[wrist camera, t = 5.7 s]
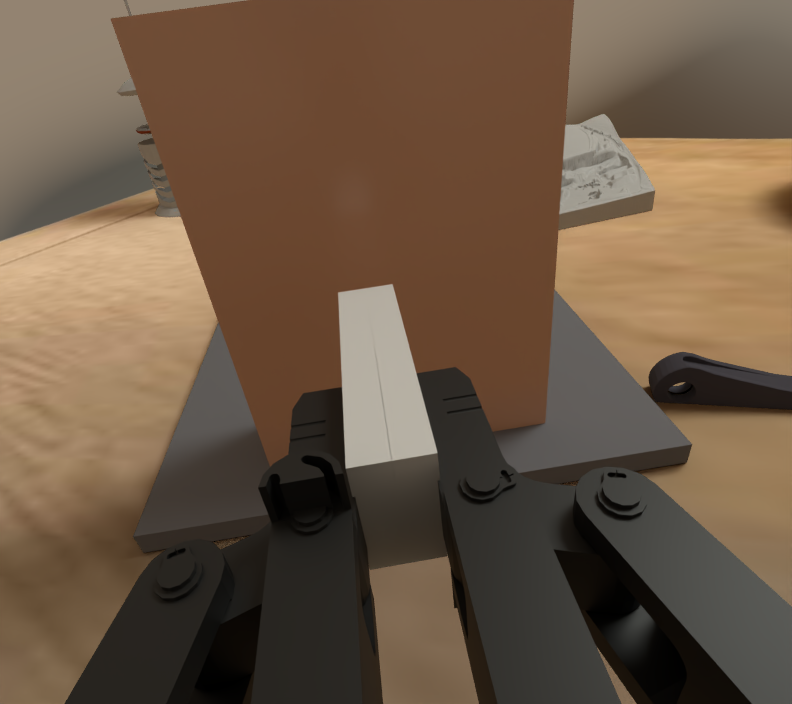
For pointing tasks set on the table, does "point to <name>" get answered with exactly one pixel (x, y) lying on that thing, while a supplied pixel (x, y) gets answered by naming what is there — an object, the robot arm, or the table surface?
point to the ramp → (600, 176)
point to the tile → (366, 181)
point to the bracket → (718, 383)
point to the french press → (153, 160)
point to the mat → (521, 447)
